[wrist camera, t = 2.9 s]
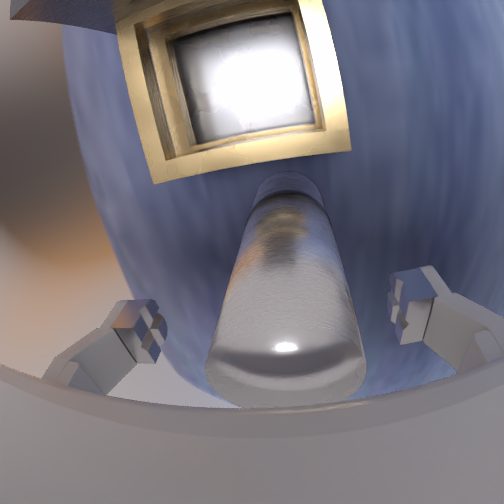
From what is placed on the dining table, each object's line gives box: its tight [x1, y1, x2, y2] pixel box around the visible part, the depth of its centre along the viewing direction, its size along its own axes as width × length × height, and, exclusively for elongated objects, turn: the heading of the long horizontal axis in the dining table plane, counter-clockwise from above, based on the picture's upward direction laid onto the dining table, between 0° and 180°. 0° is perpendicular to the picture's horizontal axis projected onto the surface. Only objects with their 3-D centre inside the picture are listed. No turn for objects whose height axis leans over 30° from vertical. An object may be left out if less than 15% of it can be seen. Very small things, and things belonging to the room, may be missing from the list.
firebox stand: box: [10, 0, 351, 184], centre depth 8 cm, size 9×9×11 cm
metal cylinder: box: [205, 171, 367, 408], centre depth 11 cm, size 4×4×12 cm
